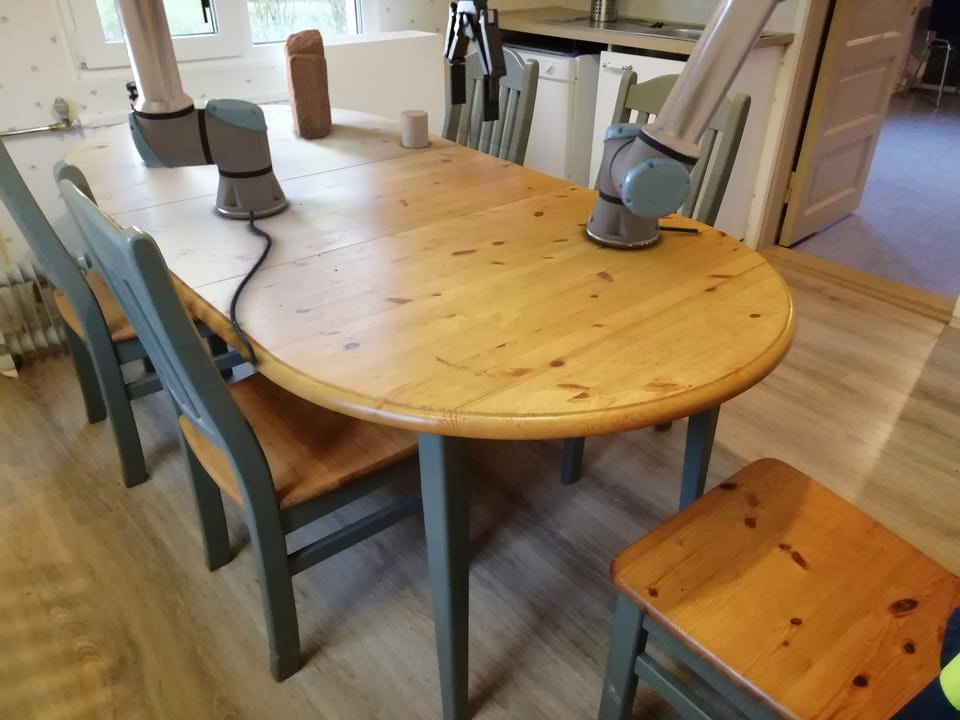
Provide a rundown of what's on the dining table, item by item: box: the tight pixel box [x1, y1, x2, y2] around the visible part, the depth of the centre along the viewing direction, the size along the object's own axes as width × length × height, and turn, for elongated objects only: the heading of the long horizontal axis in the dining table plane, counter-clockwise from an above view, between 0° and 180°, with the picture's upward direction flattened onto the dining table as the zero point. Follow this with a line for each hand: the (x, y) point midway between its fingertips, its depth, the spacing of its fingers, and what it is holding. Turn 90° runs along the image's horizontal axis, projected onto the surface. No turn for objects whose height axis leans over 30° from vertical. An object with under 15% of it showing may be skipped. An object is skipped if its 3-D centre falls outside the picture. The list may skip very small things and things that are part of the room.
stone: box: [282, 28, 333, 139], centre depth 208 cm, size 22×11×28 cm, turn 18°
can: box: [400, 109, 429, 149], centre depth 202 cm, size 8×8×9 cm
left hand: (177, 23), depth 173 cm, fingers open, 13 cm apart
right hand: (473, 112), depth 119 cm, fingers open, 13 cm apart
